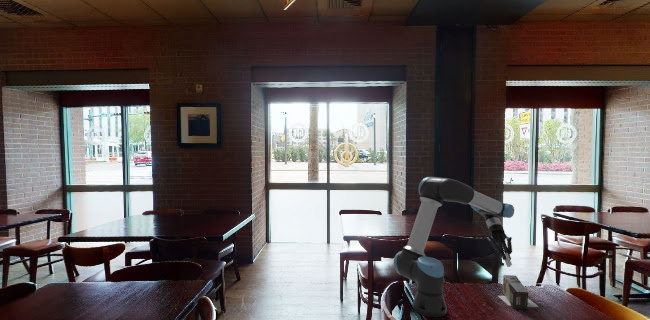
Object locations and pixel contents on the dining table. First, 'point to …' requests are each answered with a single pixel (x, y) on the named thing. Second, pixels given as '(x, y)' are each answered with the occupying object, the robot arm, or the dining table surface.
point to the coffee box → (515, 292)
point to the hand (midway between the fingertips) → (509, 265)
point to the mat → (504, 298)
